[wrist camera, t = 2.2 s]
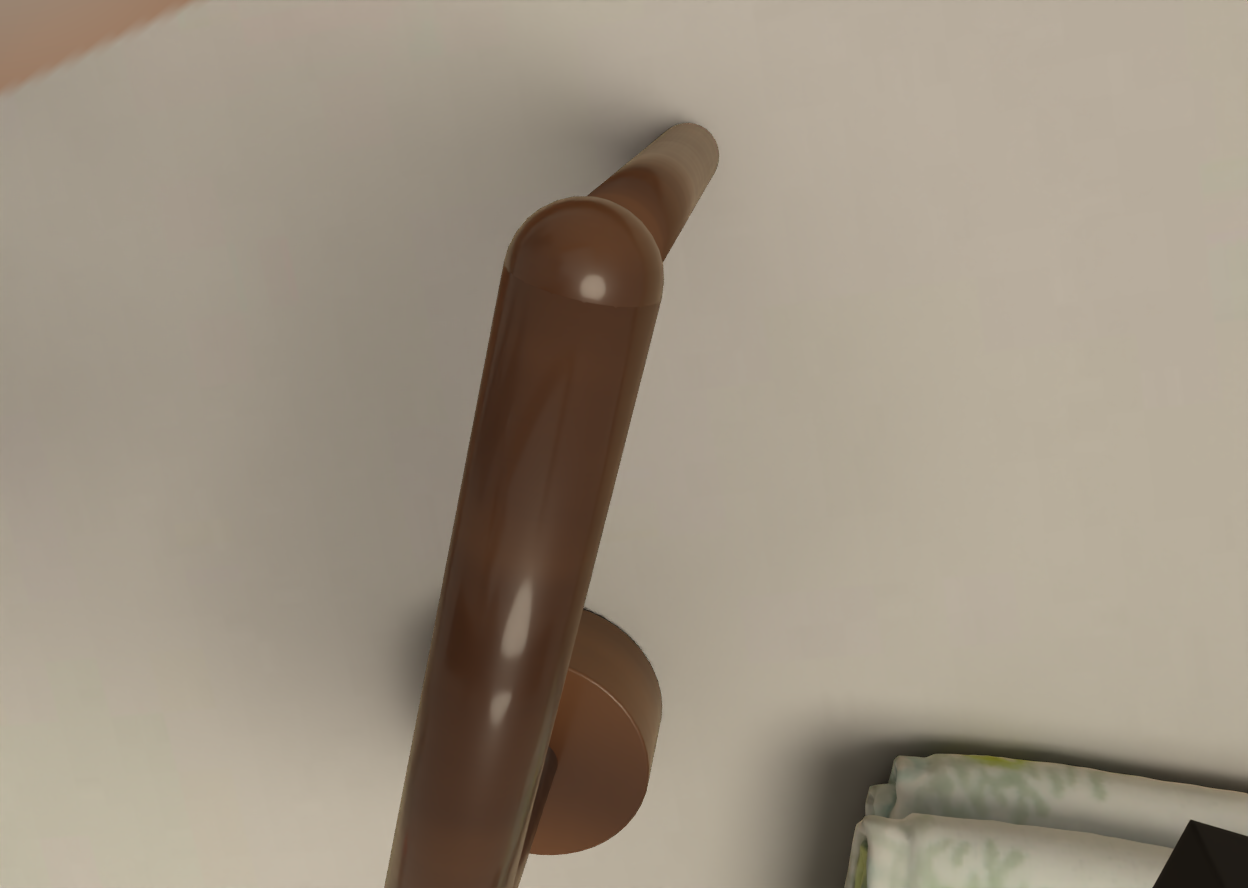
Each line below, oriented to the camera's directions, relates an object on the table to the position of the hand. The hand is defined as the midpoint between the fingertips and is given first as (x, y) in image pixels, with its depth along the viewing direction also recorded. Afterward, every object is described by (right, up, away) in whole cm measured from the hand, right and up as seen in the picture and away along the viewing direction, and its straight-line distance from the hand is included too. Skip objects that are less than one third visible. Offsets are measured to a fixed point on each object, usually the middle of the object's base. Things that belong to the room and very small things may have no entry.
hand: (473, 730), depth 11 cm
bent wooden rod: (+1, +2, +13) cm, 13 cm away
